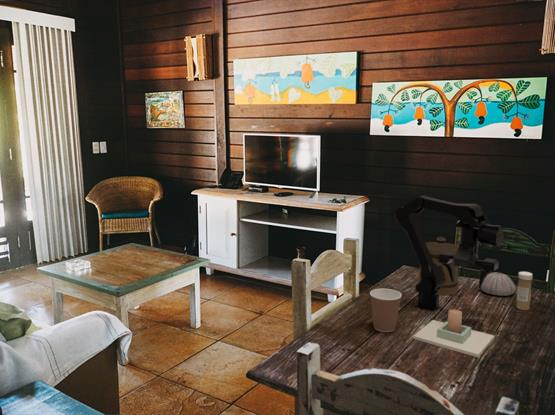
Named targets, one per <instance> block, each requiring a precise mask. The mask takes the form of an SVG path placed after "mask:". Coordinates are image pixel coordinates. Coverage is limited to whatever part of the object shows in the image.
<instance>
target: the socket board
mask: <svg viewBox="0 0 555 415" xmlns="http://www.w3.org/2000/svg"><path fill="white" fill-rule="evenodd" d="M447 330H448V320H447V321H445V322H442V321H438V320H434V319H432V320H430V321H429V322H427V324H426V325H424V327H422V328H421V329H420V330H418V331H417V332H416V333H415V334H414V335H413V336H412V338H413V340H415V341H419V342H423V343H426V344H429V345H433V346H437V347H440V348H443V349H447V350H451V351H454V352H458V353H461V354H464V355H469V356H471V357H475V358H479V357H481V355H483V353H484V352H485V351H486V349H487V348H488V347H489V345H490V344H492V342H493V340H495V335H493V334H489V333H486V332H482V331H477V330H474V329H472V327H471V326H467V325H464V324H463V325H462V324H461V334H458V333H455V332H451V331H447Z"/></svg>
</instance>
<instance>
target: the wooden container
mask: <svg viewBox="0 0 555 415" xmlns="http://www.w3.org/2000/svg"><path fill="white" fill-rule="evenodd" d="M425 243H426V245H427V248H428V250H429V253H430V255H431V257H432V260H433V262H434V263H435V264H436V265H437V266H440V265H441V266H442V268H443V272H444V273H445V274H446V276H445V279H446V281H445V283H444V285H443V286H441V288H440V289H439V290H436V291H438V295H439V296H451V295H454V294H456V293H458V286H459V285H458V283H459V267H460V266H455V279H454V282H453V283H452V281H451V278H450V275H449V272H448V269H447V267H446V266H445V265H442V262H438V257H439V255H440V254H441V253H443V252H445V251H446V252H452V253H456V252H457V251H458V248H459V245H456V244H454V243H449V242H446V238H445V237H444V236H438V237H437V238H436V241H428V242H425ZM420 282H422V280H421V266H419V283H420Z"/></svg>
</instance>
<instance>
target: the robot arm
mask: <svg viewBox="0 0 555 415" xmlns="http://www.w3.org/2000/svg"><path fill="white" fill-rule="evenodd" d="M425 209H427V210H430V211H434V212H439V213H443V214H446V215H450V216H453V217H454V218H455V219H456V220H458V222H457V223H455V225H454V227H456V228H460V236H459V237H460V238H459V244H458V247H459V248H458V251H457V252H456V253H452V252H446V251H445V252H443V253H441V254H440V255H439V257H438V262H442V265H445V266H446V267H447V269H448V272H449V275H450V278H451V281H452V283H453V282H454V279H455V266H459V267H462V268H463V269H464V268H465V269H466V268H467V269H468V268H469V267H470V265H474V266H479V267H481V269H480V271H479V272H480V276H479V277H480V278H479V281H478V288H479V289H481V286H482V284H483V282H484V280H485V278H486V276H487V275H488V274H490V273H493V272H495V271H496V270H498V269H499V265H500V264H499V261H498V260H497V259H494V258H488V257H486V258H485V259H484V260H482V259H478V258H479V255H478V251H479V250H478V248H479V246H480V244H483V245H488V246H493V247H501V245H502V244H503V241H504V238H505V236H504V231H503V229H502V225H494V224H490V223H489V221H488V219H487V217H486V216H485V214H484V212H483V208H482V207H481V205H479V204H477V203H457V202H452V201H451V202H450V201H448V200H443V199H438V198H434V197H430V196H427V195H421V196H417V197H416V198H415V199H413V200H412V201H410V202H408V203H406V204H405V205H403V206H400V207H398V208H396V210H395V213H394V218H395V220H396V221H397V223H398V224H399V226H400V227H401V228H402V229H403V230H404V231H405V232H406V234H407V237H408V239H409V241H410V244H411V246H412V247H411V248H413V251H414V254H415V256H416V258H417V261H418V263H419V265H420V266H421V280H422V282H420V281H419V283H418V284H416V285H415V290H416V292H417V293H418V295H417V304H416V305H415V307H416V308H419V309H424V310H428V311H434V310H436V309H437V308H438V307H439V306H440V295H438V291H436V290H439V289H440V288H441V286H443V285H444V283H445V281H446V279H445V276H446V274H445V273H444V272H443V268H442V266H441V265H440V266H437V265H436V264H435V263H434V262H433V260H432V257H431V255H430V253H429V250H428V248H427V245H426V243H427V242H426V240H425V238H424V236H423V234H422V230H421V228H420V227H419V226H420V224H419V223H420V221H419V220H420V216H419V213H421V212H422V211H423V210H425ZM479 243H480V244H479ZM420 266H419V267H420Z"/></svg>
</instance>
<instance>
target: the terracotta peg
mask: <svg viewBox="0 0 555 415" xmlns="http://www.w3.org/2000/svg"><path fill="white" fill-rule="evenodd" d="M462 318H463V311H461V310H459V309H455V308H454V309H452V308H451V309H449V310H448V315H447V321H448V330H447V331H451V332H455V333H458V334H461V325H462V322H463V321H462V320H463V319H462Z"/></svg>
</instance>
